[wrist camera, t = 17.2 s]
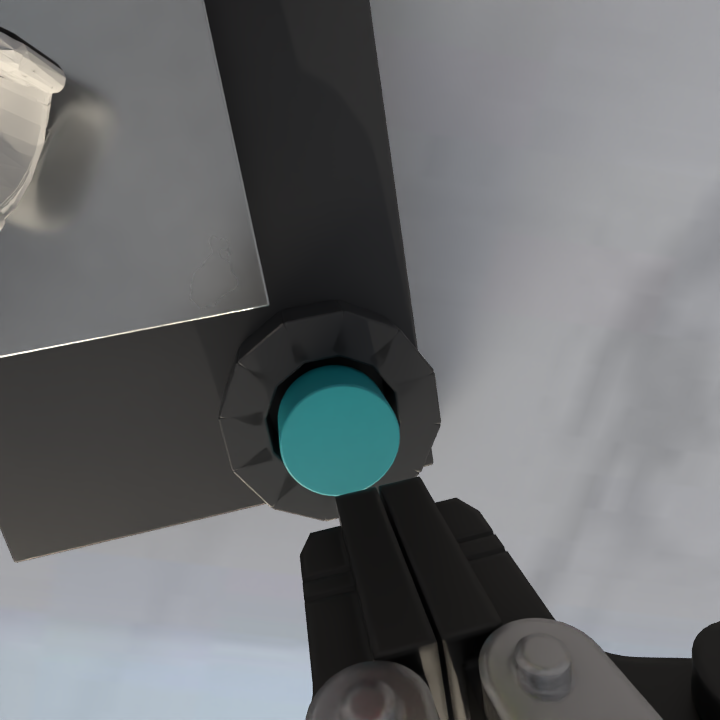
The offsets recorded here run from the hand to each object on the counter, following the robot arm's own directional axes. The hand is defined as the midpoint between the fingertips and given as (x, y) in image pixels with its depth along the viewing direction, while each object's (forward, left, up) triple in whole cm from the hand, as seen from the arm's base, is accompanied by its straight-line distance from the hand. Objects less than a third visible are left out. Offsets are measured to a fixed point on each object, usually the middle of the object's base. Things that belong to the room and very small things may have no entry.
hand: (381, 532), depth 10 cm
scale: (-5, -4, -9) cm, 11 cm away
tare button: (0, 0, -6) cm, 6 cm away
